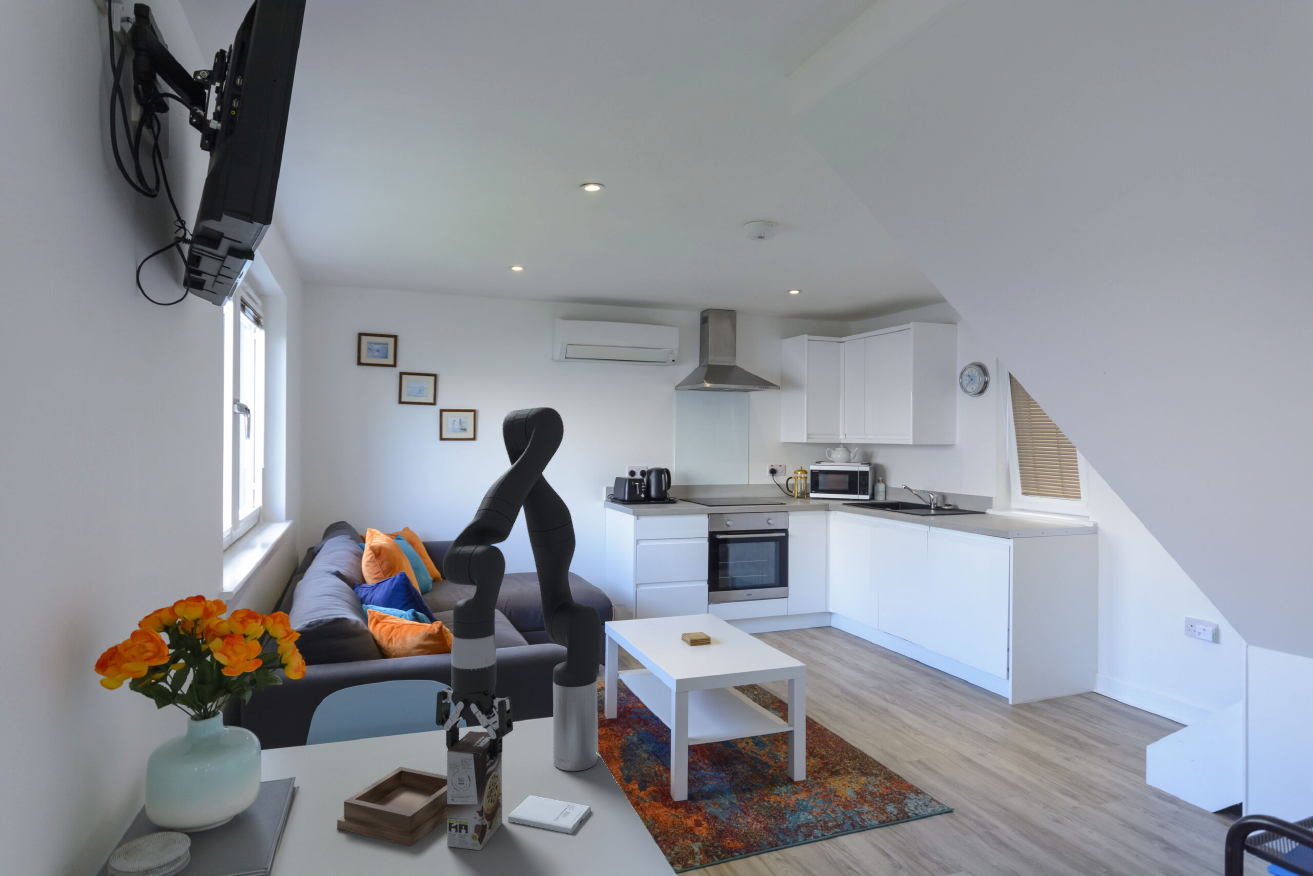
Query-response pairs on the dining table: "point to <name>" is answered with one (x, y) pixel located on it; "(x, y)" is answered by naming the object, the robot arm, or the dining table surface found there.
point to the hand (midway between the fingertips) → (473, 754)
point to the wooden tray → (398, 806)
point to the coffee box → (473, 792)
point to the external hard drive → (549, 814)
